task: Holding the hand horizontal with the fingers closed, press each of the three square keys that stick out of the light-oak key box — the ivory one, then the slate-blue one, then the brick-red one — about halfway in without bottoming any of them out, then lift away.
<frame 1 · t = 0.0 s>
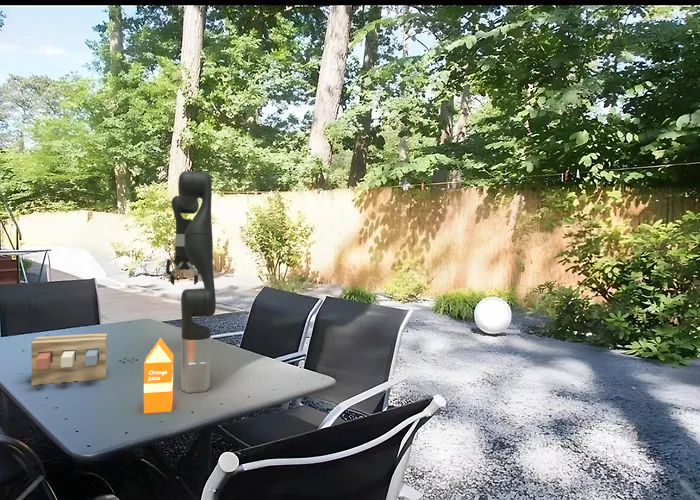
hand: (184, 284, 210), 29 cm above the table, tool pointing down, fingers open, 8 cm apart
key box: (69, 382, 173), on the table
blue key: (92, 356, 173), point 9 cm above the table, slide at 0.0 cm
red key: (44, 359, 167), point 9 cm above the table, slide at 0.0 cm
orange juice: (158, 407, 153), on the table
white key: (68, 357, 170), point 9 cm above the table, slide at 0.0 cm
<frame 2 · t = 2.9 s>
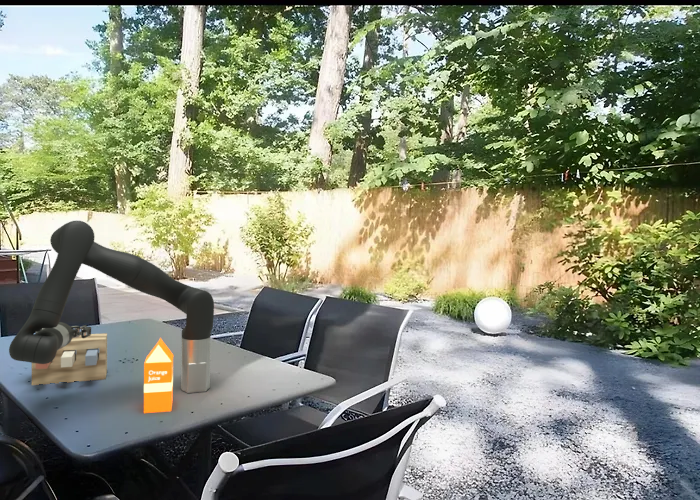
hand: (70, 328, 163), 20 cm above the table, tool horizontal, fingers open, 8 cm apart
nothing on the table moved.
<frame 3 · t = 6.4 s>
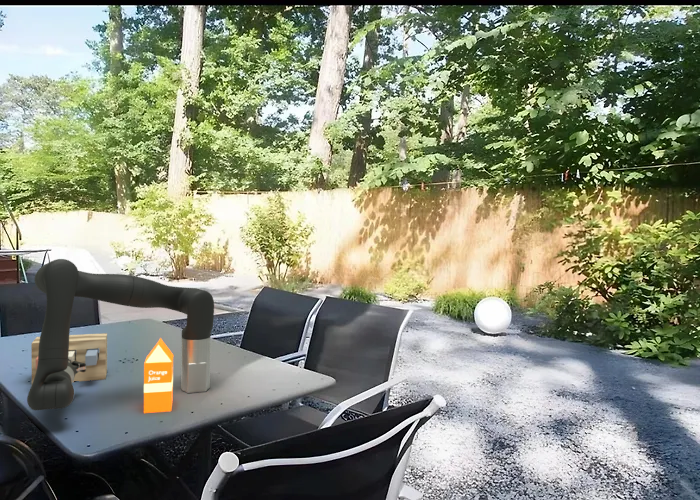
hand: (66, 361, 165), 9 cm above the table, tool horizontal, fingers closed
white key: (68, 357, 170), point 9 cm above the table, slide at 0.6 cm, touching gripper
everything else where it was.
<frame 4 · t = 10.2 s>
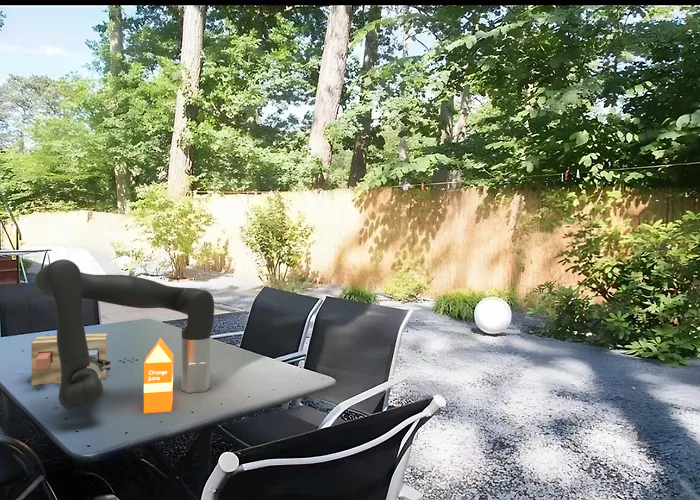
hand: (90, 359, 168), 9 cm above the table, tool horizontal, fingers closed
blue key: (92, 355, 173), point 9 cm above the table, slide at 0.8 cm, touching gripper
white key: (69, 355, 173), point 9 cm above the table, slide at 3.0 cm
everything else where it was.
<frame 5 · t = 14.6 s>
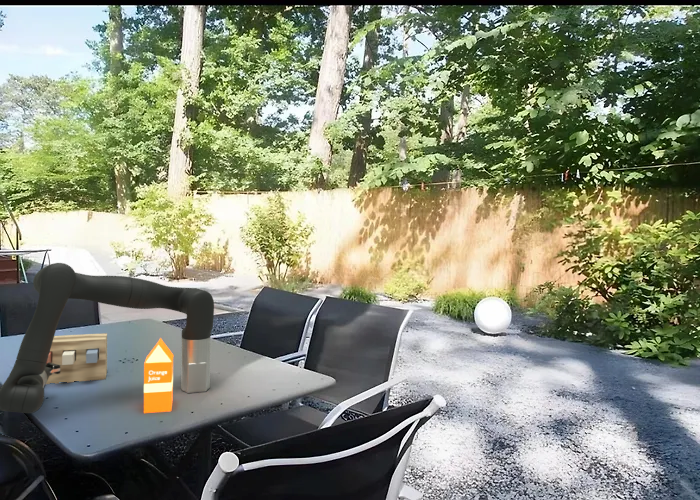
hand: (41, 363, 163), 9 cm above the table, tool horizontal, fingers closed
blue key: (92, 354, 175), point 9 cm above the table, slide at 3.0 cm
red key: (44, 358, 168), point 9 cm above the table, slide at 0.8 cm, touching gripper
everything else where it was.
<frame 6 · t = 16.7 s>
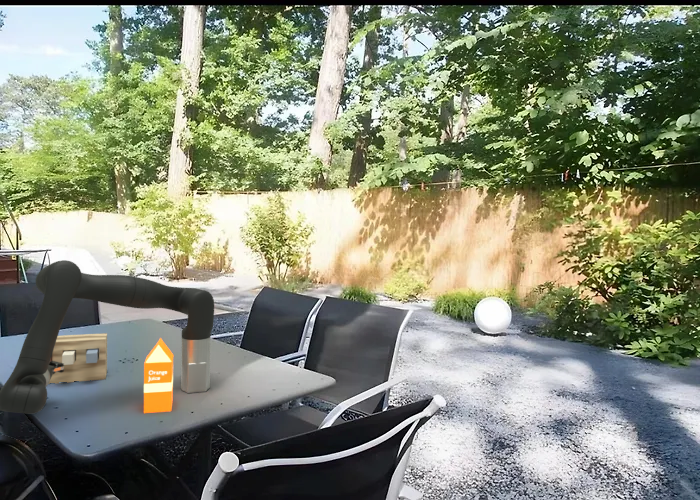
hand: (44, 361, 158), 11 cm above the table, tool horizontal, fingers closed
red key: (45, 357, 170), point 9 cm above the table, slide at 2.9 cm
everything else where it was.
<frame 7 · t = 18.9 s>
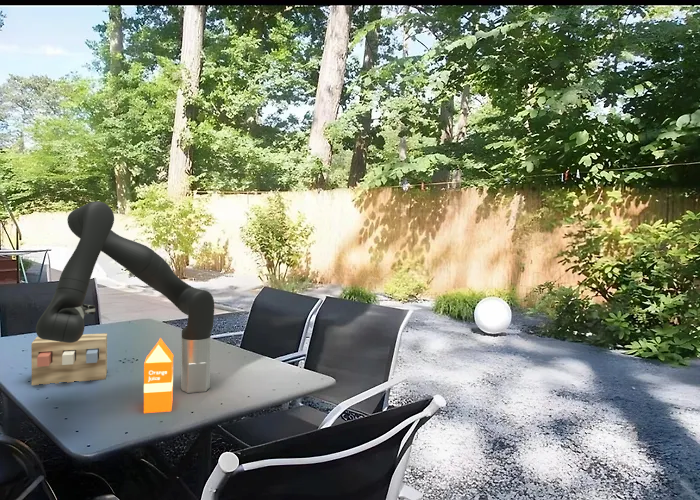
hand: (75, 305, 160), 28 cm above the table, tool horizontal, fingers closed
nothing on the table moved.
at the end: white key slide at 3.0 cm; blue key slide at 3.0 cm; red key slide at 2.9 cm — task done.
